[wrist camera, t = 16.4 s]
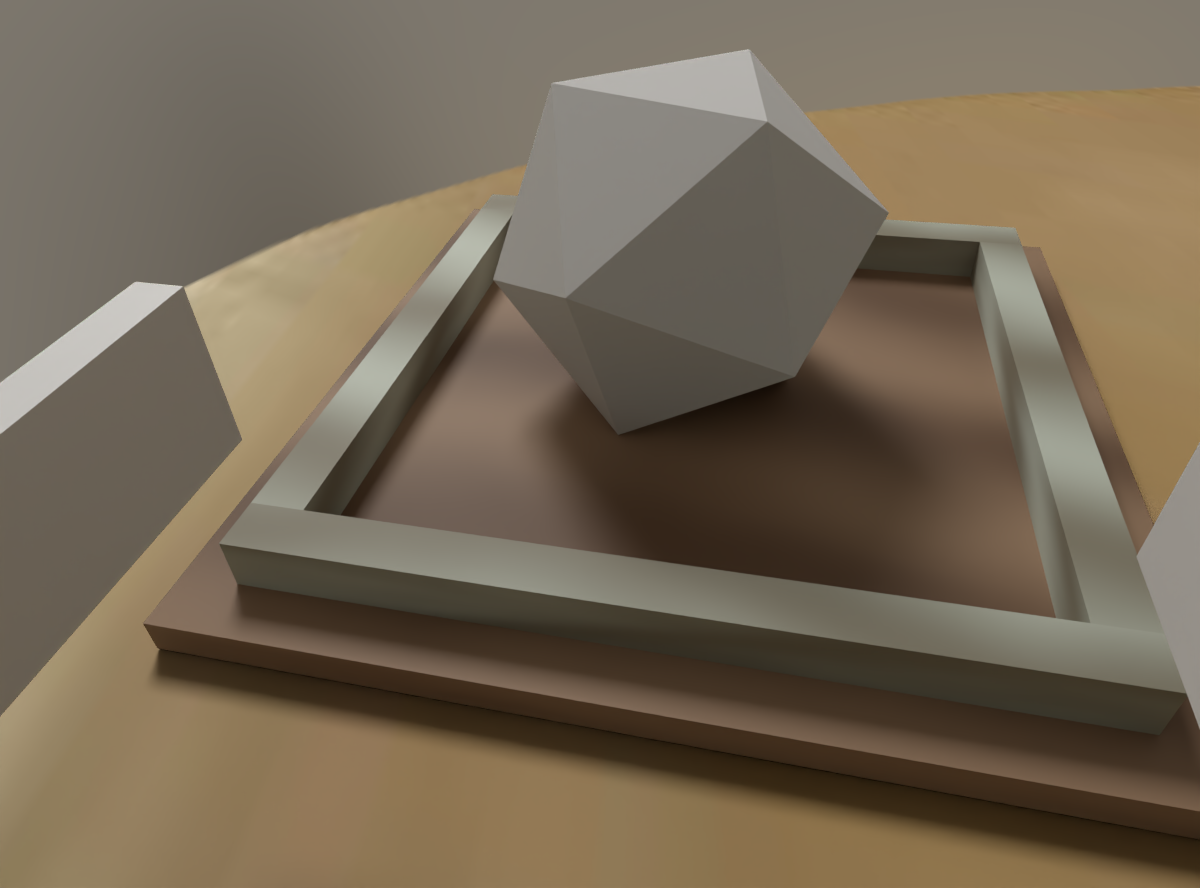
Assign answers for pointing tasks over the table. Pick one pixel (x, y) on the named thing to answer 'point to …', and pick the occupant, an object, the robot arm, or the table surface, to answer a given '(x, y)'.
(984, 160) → the table surface
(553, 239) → the die
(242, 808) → the table surface
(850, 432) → the dice tray
